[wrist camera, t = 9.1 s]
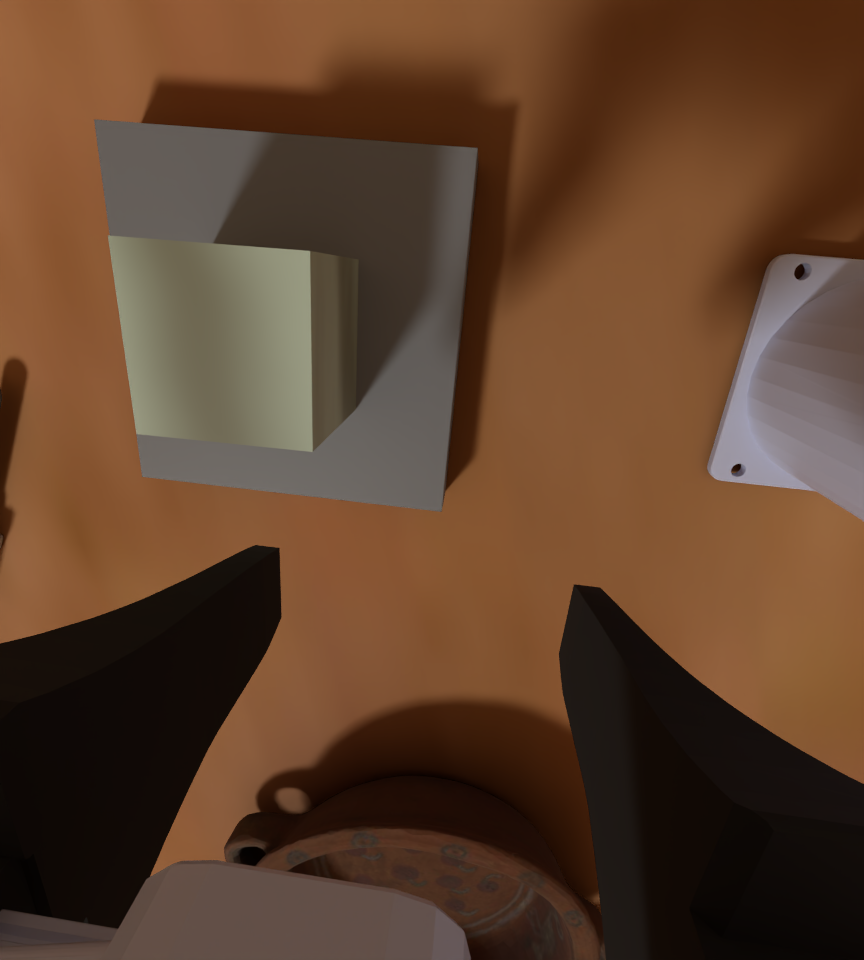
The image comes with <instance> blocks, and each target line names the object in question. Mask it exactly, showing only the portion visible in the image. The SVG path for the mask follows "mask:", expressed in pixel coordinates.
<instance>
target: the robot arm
mask: <svg viewBox="0 0 864 960" xmlns="http://www.w3.org/2000/svg"><path fill="white" fill-rule="evenodd" d="M800 264H802V265H803V266H804V268H805V271H804V274H803V276H802V277H801V278H799V279H796V278H795V276H794V271H795V269H796V267H797V266H798V265H800ZM736 464H741V468H740V470H739V471H738V472H736V473H731V469H732V467H733V466H734V465H736ZM707 469H708V472H709V474H710V475H712V476H713V477H714V478H715V479H717V480H720V481H729V482H738V483H748V484H757V485H766V486H775V487H784V488H793V489H802V490H811V491H817V492H818V493H820V494H822V495H823V496H825V497H826V498H828V499H830V500H831V501H833V502H834V503H836V504H837V505H839V506H841V507H842V508H844V509H845V510H847V511H849V512H850V513H852V514H853V515H855V516H856V517H858V518H860V519H861V520H863V521H864V260H860V259H848V258H836V257H824V256H812V255H800V254H785V255H779V256H777V257H775V258H774V259H773V260H772V261H771V262H770V263H769V265H768V267H767V269H766V271H765V275H764V278H763V282H762V285H761V288H760V292H759V295H758V298H757V302H756V305H755V308H754V312H753V315H752V318H751V322H750V325H749V328H748V332H747V335H746V338H745V342H744V345H743V348H742V352H741V355H740V358H739V362H738V365H737V368H736V372H735V375H734V378H733V382H732V385H731V388H730V392H729V395H728V398H727V402H726V405H725V408H724V412H723V415H722V418H721V422H720V425H719V428H718V432H717V435H716V438H715V442H714V445H713V448H712V452H711V455H710V459H709V462H708V468H707ZM280 619H281V587H280V553H279V548H275V547H266V546H258V545H255V546H252V547H250V548H247V549H245V550H243V551H241V552H239V553H237V554H235V555H233V556H231V557H229V558H227V559H225V560H223V561H221V562H219V563H217V564H215V565H213V566H211V567H209V568H208V569H206V570H204V571H202V572H200V573H198V574H196V575H194V576H192V577H190V578H188V579H186V580H184V581H181V582H179V583H177V584H175V585H173V586H171V587H168V588H166V589H164V590H162V591H160V592H158V593H155V594H153V595H151V596H149V597H147V598H144V599H142V600H139V601H137V602H135V603H132V604H130V605H127V606H124V607H122V608H119V609H116V610H114V611H111V612H108V613H105V614H103V615H100V616H97V617H94V618H91V619H88V620H85V621H81V622H78V623H75V624H71V625H68V626H65V627H61V628H58V629H55V630H51V631H48V632H45V633H41V634H37V635H34V636H30V637H26V638H22V639H18V640H14V641H10V642H5V643H1V644H0V960H471V957H470V953H469V949H468V945H467V941H466V937H465V933H464V931H463V930H462V928H461V927H460V926H459V925H458V924H457V923H456V922H455V921H454V920H453V919H452V918H450V917H449V916H448V915H447V914H446V913H445V912H444V911H442V910H441V909H440V908H439V907H438V906H437V905H435V904H434V903H433V902H432V901H429V900H426V899H423V898H420V897H417V896H414V895H411V894H408V893H405V892H402V891H399V890H396V889H391V888H385V887H379V886H373V885H367V884H360V883H354V882H348V881H342V880H336V879H329V878H323V877H317V876H311V875H305V874H298V873H292V872H286V871H280V870H274V869H268V868H261V867H255V866H249V865H243V864H237V863H230V862H224V861H218V860H202V861H180V862H177V863H174V864H172V865H170V866H168V867H166V868H165V869H163V870H161V871H160V872H158V873H156V874H154V875H153V876H151V877H150V875H151V872H152V870H153V868H154V865H155V863H156V861H157V858H158V856H159V854H160V851H161V849H162V847H163V844H164V842H165V840H166V837H167V835H168V833H169V831H170V829H171V827H172V824H173V822H174V820H175V818H176V816H177V813H178V811H179V809H180V807H181V805H182V802H183V800H184V798H185V796H186V794H187V792H188V789H189V787H190V785H191V783H192V781H193V779H194V777H195V775H196V773H197V771H198V769H199V767H200V765H201V763H202V761H203V758H204V756H205V754H206V752H207V750H208V748H209V747H210V745H211V743H212V741H213V739H214V738H215V736H216V734H217V732H218V730H219V729H220V727H221V726H222V724H223V722H224V721H225V719H226V717H227V716H228V714H229V713H230V711H231V709H232V708H233V706H234V704H235V703H236V701H237V700H238V698H239V696H240V695H241V693H242V691H243V690H244V688H245V687H246V685H247V683H248V682H249V680H250V678H251V677H252V675H253V674H254V672H255V670H256V669H257V667H258V665H259V664H260V662H261V660H262V659H263V657H264V655H265V653H266V652H267V649H268V647H269V645H270V643H271V641H272V638H273V636H274V634H275V631H276V629H277V627H278V624H279V622H280ZM559 660H560V671H561V681H562V690H563V696H564V701H565V705H566V709H567V714H568V718H569V723H570V727H571V731H572V735H573V740H574V744H575V748H576V752H577V756H578V761H579V765H580V769H581V773H582V778H583V782H584V787H585V792H586V797H587V802H588V808H589V816H590V823H591V831H592V838H593V846H594V854H595V862H596V871H597V879H598V888H599V897H600V905H601V915H602V925H603V935H604V945H605V955H606V960H864V784H862V783H860V782H858V781H856V780H854V779H852V778H850V777H848V776H846V775H844V774H843V773H841V772H839V771H837V770H835V769H833V768H832V767H830V766H828V765H826V764H824V763H823V762H821V761H819V760H817V759H816V758H814V757H812V756H810V755H808V754H807V753H805V752H803V751H801V750H800V749H798V748H796V747H795V746H793V745H791V744H790V743H788V742H786V741H785V740H783V739H781V738H780V737H778V736H776V735H775V734H773V733H772V732H770V731H769V730H767V729H766V728H764V727H763V726H761V725H759V724H758V723H756V722H755V721H753V720H752V719H750V718H749V717H747V716H746V715H744V714H743V713H741V712H740V711H738V710H737V709H736V708H734V707H733V706H731V705H730V704H728V703H727V702H726V701H724V700H723V699H722V698H720V697H719V696H718V695H717V694H715V693H714V692H713V691H711V690H710V689H709V688H707V687H706V686H705V685H703V684H702V683H701V682H699V681H698V680H697V679H696V678H695V677H693V676H692V675H691V674H690V673H688V672H687V671H686V670H685V669H684V668H683V667H682V666H680V665H679V664H678V663H677V662H676V661H675V660H674V659H672V658H671V657H670V656H669V655H668V654H667V653H666V652H665V651H663V650H662V649H661V648H660V647H659V646H658V645H657V644H656V643H655V642H654V641H653V640H652V639H651V638H650V637H649V636H648V635H647V634H646V633H645V632H644V631H643V630H642V629H641V628H640V627H639V626H638V625H637V624H636V623H635V622H634V621H633V620H632V619H631V618H630V617H629V616H628V615H627V614H626V613H625V612H624V611H623V610H622V609H621V608H620V607H619V606H618V605H617V604H616V603H615V602H614V601H613V600H612V599H611V598H610V597H609V596H608V595H607V594H606V593H605V592H604V591H603V590H602V589H601V588H599V587H591V586H583V585H574V587H573V591H572V596H571V601H570V605H569V610H568V615H567V619H566V624H565V628H564V633H563V638H562V642H561V647H560V651H559Z"/></svg>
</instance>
